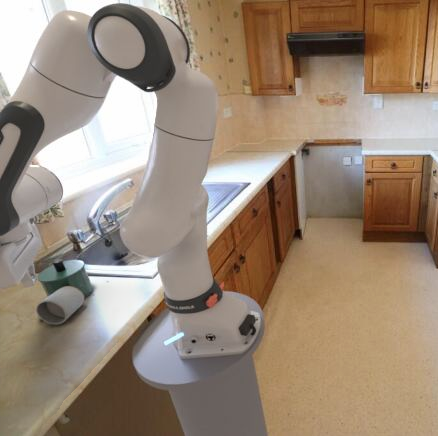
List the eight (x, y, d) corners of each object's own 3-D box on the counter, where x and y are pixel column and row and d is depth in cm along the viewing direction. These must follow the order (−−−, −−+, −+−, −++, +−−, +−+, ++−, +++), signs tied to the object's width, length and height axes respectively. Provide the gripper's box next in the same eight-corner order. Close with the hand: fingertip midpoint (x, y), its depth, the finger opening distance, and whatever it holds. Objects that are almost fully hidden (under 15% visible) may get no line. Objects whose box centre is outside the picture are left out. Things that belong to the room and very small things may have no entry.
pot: (100, 285, 101) (91, 262, 97) (73, 307, 92) (62, 282, 88) (71, 284, 102) (61, 261, 98) (42, 305, 93) (29, 281, 89)
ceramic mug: (90, 303, 93) (80, 281, 89) (70, 324, 85) (58, 301, 82) (54, 306, 93) (42, 284, 89) (31, 326, 85) (17, 303, 82)
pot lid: (94, 263, 98) (89, 251, 96) (63, 285, 88) (57, 272, 86) (62, 262, 99) (56, 250, 97) (28, 283, 89) (21, 271, 88)
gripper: (4, 246, 61) (36, 303, 67) (34, 210, 78) (58, 259, 84) (-41, 255, 59) (-3, 315, 64) (0, 217, 75) (27, 266, 81)
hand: (31, 283), depth 74 cm, fingers closed
